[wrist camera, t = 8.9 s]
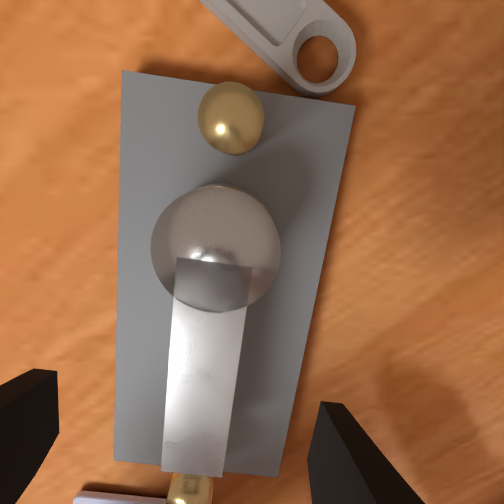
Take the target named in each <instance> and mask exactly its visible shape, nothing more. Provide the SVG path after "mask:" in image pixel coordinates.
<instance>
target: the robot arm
mask: <svg viewBox="0 0 504 504" xmlns="http://www.w3.org/2000/svg"><path fill="white" fill-rule="evenodd" d="M58 434H59V411H58V382H57V371H52V370H43V369H32V370H30V371H28V372H26V373H24V374H22V375H20V376H18V377H16V378H14V379H12V380H10V381H8V382H6V383H4V384H2V385H0V504H15V503H16V502H17V500H18V499H19V498H20V496H21V495H22V493H23V492H24V490H25V489H26V488H27V486H28V485H29V483H30V482H31V480H32V479H33V477H34V476H35V475H36V473H37V471H38V469H39V468H40V466H41V464H42V463H43V461H44V459H45V457H46V456H47V454H48V452H49V450H50V449H51V447H52V445H53V443H54V441H55V439H56V438H57V436H58ZM307 460H308V470H309V479H310V488H311V496H312V504H425V503H424V502H423V501H422V500H421V498H420V497H419V496H418V495H417V494H416V493H415V492H414V490H413V489H412V488H411V487H410V486H409V485H408V483H407V482H406V481H405V480H404V479H403V478H402V476H401V475H400V474H399V473H398V472H397V471H396V469H395V468H394V467H393V466H392V464H391V463H390V462H389V461H388V460H387V458H386V457H385V456H384V455H383V454H382V452H381V451H380V450H379V449H378V447H377V446H376V445H375V444H374V442H373V441H372V440H371V439H370V437H369V436H368V435H367V434H366V432H365V431H364V430H363V429H362V427H361V426H360V425H359V423H358V422H357V421H356V420H355V418H354V417H353V416H352V415H351V413H350V412H349V411H348V410H347V408H346V407H345V406H344V405H343V404H342V403H333V402H324V401H321V403H320V408H319V412H318V416H317V420H316V424H315V429H314V433H313V437H312V441H311V446H310V450H309V454H308V458H307ZM165 503H166V499H163V498H153V497H143V496H133V495H123V494H113V493H103V492H93V491H80V492H78V493H77V494H76V496H75V498H74V500H73V504H165Z"/></svg>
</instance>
